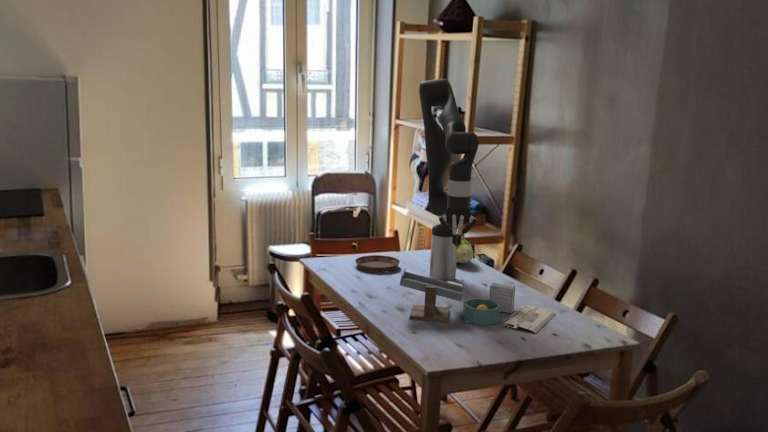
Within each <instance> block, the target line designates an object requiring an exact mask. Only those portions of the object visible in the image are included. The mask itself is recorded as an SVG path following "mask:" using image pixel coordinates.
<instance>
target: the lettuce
mask: <svg viewBox="0 0 768 432" xmlns="http://www.w3.org/2000/svg"><path fill="white" fill-rule="evenodd" d="M455 254H457V262H456V264H467V263H470V262H471V261H472V260H473V258H474V249H473V247H472V245H471V243H470V242H469V241H468V240H467V239H466V238H464V236H462V235H461V244H459V246H457V243H456V248H455Z"/></svg>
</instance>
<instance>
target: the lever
mask: <svg viewBox="0 0 768 432" xmlns="http://www.w3.org/2000/svg"><path fill="white" fill-rule="evenodd" d="M406 270H407V268H406V267H404V268H403V271H402V274H401V277H400V281H399V286H400V287H404V288H407V289H412V290H415V291H420V292H423V293H425V287H426V286H434V287H435V295H436V296H439V297H442V298H445V299H450V300H454V301H457V302H462V298H463V295H464V294H463V289H464V286H463V284H462V283H459V282H454V281H446V282H444V281H440V280H436V279H432V278H428V277H429V276H425V275H421V274H417V273H414V272H413V273H412V272H410V271H409V272H408V271H406Z"/></svg>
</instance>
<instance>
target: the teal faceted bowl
mask: <svg viewBox="0 0 768 432" xmlns="http://www.w3.org/2000/svg"><path fill="white" fill-rule="evenodd" d="M479 305H486V306H487V307H488V309H487V310H484V309H477V307H478V306H479ZM462 306H463V307H462V308H463V309H462V318H463V320H464V322H467V321H468V322H467V323H469V322H470V323H469V324H472V323H473V324H472V325H477V324H482V325H481V326H489V325H488V324H493V325H495V323H496V324H498V323H499V322H500V318H501V312H500V305H499V303H498V302H495V301H492V300H490V299H489V298H479V297H478V298H477V297H476V298H468V299H466V300H465V301H463V305H462ZM498 321H499V322H498Z"/></svg>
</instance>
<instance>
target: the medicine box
mask: <svg viewBox="0 0 768 432" xmlns="http://www.w3.org/2000/svg"><path fill="white" fill-rule="evenodd" d="M515 294H516V285H513V284H506V283H499V282H492V283H491V285H490V286H489V295H488V299H490V300H492V301H495V302H498V303H499V305H500V313H504V312H507V313H506V314H513V313H514V309H515V308H514V307H515Z"/></svg>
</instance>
